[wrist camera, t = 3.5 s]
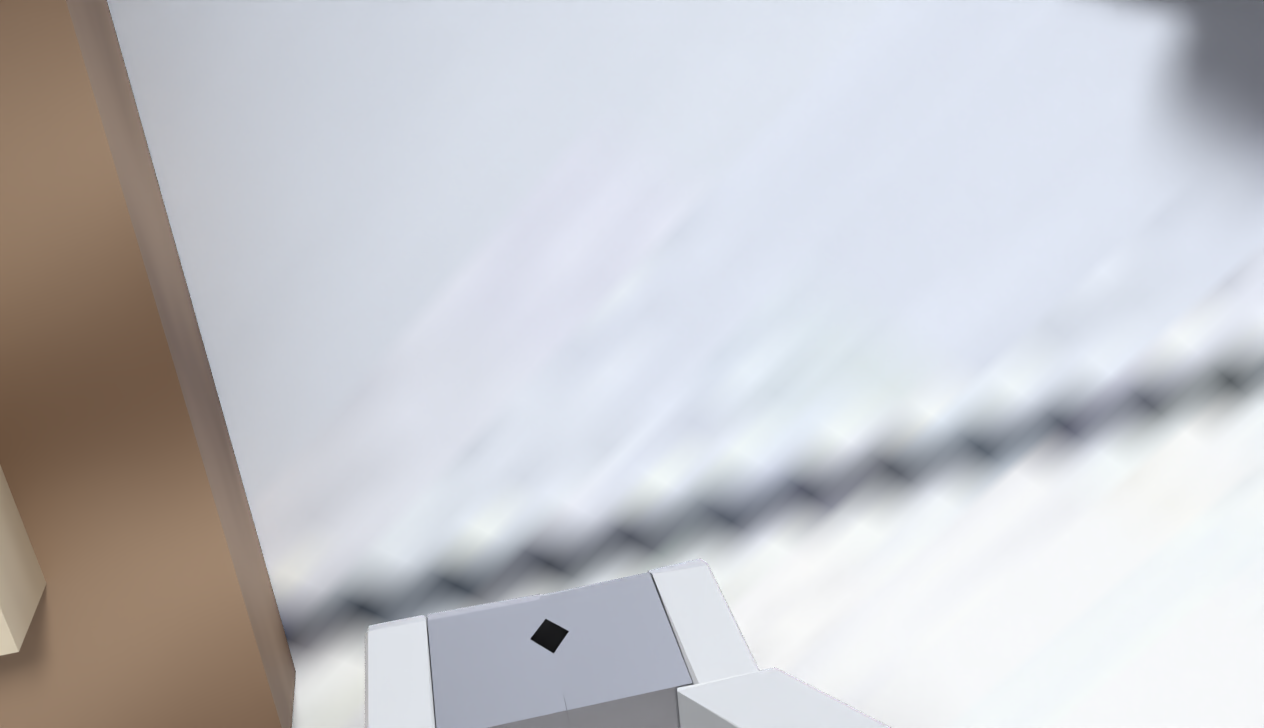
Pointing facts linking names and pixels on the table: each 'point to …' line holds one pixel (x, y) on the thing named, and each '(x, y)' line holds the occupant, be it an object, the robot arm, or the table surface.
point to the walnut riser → (115, 417)
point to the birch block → (16, 575)
